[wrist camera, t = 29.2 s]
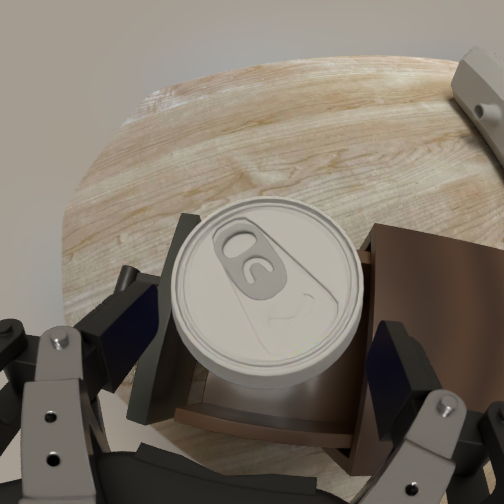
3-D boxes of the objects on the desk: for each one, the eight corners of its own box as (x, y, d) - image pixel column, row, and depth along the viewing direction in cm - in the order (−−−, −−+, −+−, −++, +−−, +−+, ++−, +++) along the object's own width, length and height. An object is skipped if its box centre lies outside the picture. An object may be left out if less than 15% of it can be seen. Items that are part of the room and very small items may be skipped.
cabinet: (316, 443, 19) (349, 476, 10) (338, 281, 25) (374, 222, 16) (472, 435, 17) (543, 437, 8) (478, 299, 23) (540, 259, 14)
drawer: (120, 394, 20) (63, 391, 13) (157, 256, 25) (122, 205, 18) (358, 439, 18) (401, 459, 11) (375, 289, 23) (415, 247, 16)
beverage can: (315, 359, 20) (413, 297, 6) (255, 400, 19) (236, 434, 5) (273, 303, 22) (287, 159, 8) (215, 342, 21) (127, 251, 7)
